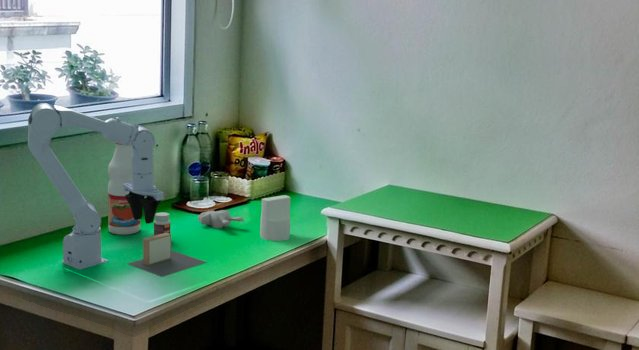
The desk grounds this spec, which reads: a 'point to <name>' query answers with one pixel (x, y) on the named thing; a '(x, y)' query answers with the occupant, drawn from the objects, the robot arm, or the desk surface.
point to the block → (156, 248)
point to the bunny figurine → (217, 218)
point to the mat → (169, 264)
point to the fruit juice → (120, 192)
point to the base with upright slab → (275, 218)
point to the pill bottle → (161, 223)
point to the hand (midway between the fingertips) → (143, 220)
